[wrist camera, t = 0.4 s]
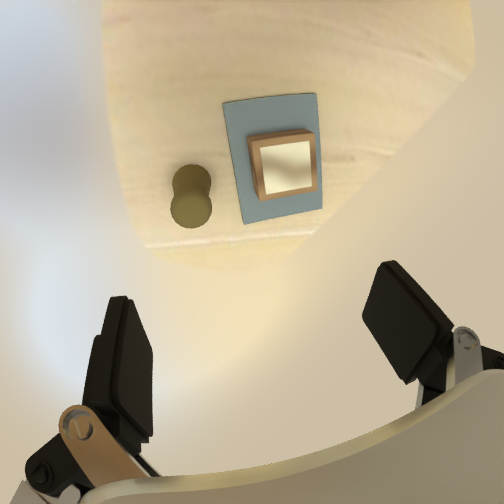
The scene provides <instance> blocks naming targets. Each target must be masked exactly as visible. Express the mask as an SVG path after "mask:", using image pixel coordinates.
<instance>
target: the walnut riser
mask: <svg viewBox="0 0 504 504" xmlns="http://www.w3.org/2000/svg"><path fill="white" fill-rule="evenodd" d="M246 139H247V145H248V152H249V158H250V165H251V172H252V178H253V185H254V192H255V194H256V195H257V197H258V199H259V201H260V202H261V201H266V200H271V199H276V198H281V197H286V196H292V195H297V194H302V193H308V192H314V191H318V187H317V162H316V144H315V133H313V132H311V131H309V130H307V129H296V130H287V131H280V132H272V133H266V134H259V135H253V136H247V137H246Z"/></svg>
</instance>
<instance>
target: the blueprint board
mask: <svg viewBox="0 0 504 504" xmlns="http://www.w3.org/2000/svg"><path fill="white" fill-rule="evenodd" d="M222 105H223V110H224V116H225V122H226V128H227V133H228V139H229V145H230V150H231V156H232V162H233V167H234V173H235V179H236V184H237V190H238V196H239V201H240V207H241V212H242V218H243V223H244V225H245V224H250V223H254V222H259V221H263V220H268V219H273V218H278V217H282V216H287V215H292V214H297V213H302V212H307V211H312V210H317V209H322V171H321V148H320V132H319V118H318V105H317V95H316V93H307V94H292V95H281V96H271V97H262V98H255V99H247V100H241V101H235V102H229V103H223V104H222ZM296 129H307V130H309V131H311V132H313V133H315V144H316V162H317V187H318V191H314V192H308V193H302V194H297V195H292V196H286V197H281V198H276V199H271V200H266V201H261V202H260V201H259V199H258V197H257V195H256V194H255V192H254V185H253V178H252V172H251V165H250V158H249V152H248V145H247V139H246V137H247V136H253V135H259V134H266V133H272V132H280V131H287V130H296Z"/></svg>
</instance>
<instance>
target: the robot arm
mask: <svg viewBox="0 0 504 504" xmlns="http://www.w3.org/2000/svg"><path fill="white" fill-rule="evenodd" d="M362 318H363V321H364V323H365V324H366V326H367V327H368V329H369V330H370V332H371V333H372V335H373V337H374V338H375V340H376V341H377V343H378V344H379V346H380V348H381V349H382V351H383V352H384V354H385V356H386V357H387V359H388V360H389V362H390V364H391V365H392V367H393V368H394V370H395V372H396V373H397V375H398V377H399V378H400V379H401V380H403V381H404V383H405V384H406V385H407V384H409V383H411V382H413V381H415V380H416V378H418V380H419V387H418V394H417V401H416V407H415V410H414V411H413V412H410V413H409V414H407V415H405V416H403V417H401V418H399V419H397V420H395V421H393V422H391V423H389V424H387V425H384V426H382V427H380V428H378V429H376V430H373V431H372V432H369V433H367V434H364V435H362V436H359V437H357V438H354V439H352V440H349V441H347V442H344V443H341V444H338V445H336V446H333V447H330V448H327V449H324V450H321V451H318V452H314V453H311V454H307V455H304V456H300V457H297V458H293V459H289V460H285V461H281V462H277V463H273V464H268V465H262V466H258V467H252V468H246V469H240V470H233V471H225V472H218V473H209V474H198V475H183V476H166V477H163V476H162V475H161V474H160V473H159V472H158V471H157V470H156V469H155V468H154V467H152V465H151V464H150V463H149V462H148V461H147V460H146V459H145V458H144V457H143V456H142V455H141V454H140V452H141V443H149V437H152V435H153V417H152V416H153V414H152V370H153V369H152V368H153V352H152V347H151V345H150V343H149V340H148V338H147V335H146V333H145V330H144V328H143V325H142V323H141V320H140V318H139V315H138V312H137V310H136V307H135V304H134V302H133V300H132V299H130V300H128V298H127V296H116V297H111V298H110V300H109V303H108V307H107V311H106V315H105V319H104V323H103V327H102V331H101V335H96V337H95V338H94V341H93V345H92V350H91V355H90V359H89V365H88V370H87V376H86V381H85V387H84V393H83V400H82V405H73V406H71V407H69V408H67V409H66V410H65V411H64V412H63V413H62V415H61V417H60V420H59V432H60V433H58V434H57V435H56V436H55V437H54V438H52V439H51V440H50V441H49V442H48V443H46V444H45V445H44V446H43V447H42V448H40V449H39V450H38V451H37V452H35V453H34V454H33V455H32V456H31V457H30V458H29V459H28V460H27V462H26V465H25V474H26V478H27V479H26V481H24V480H22V481H21V483H20V485H19V487H18V489H17V491H16V493H15V495H14V497H13V499H12V501H11V503H10V504H504V354H503V353H501V352H499V351H496V350H493V349H490V348H487V347H484V346H481V345H480V340H479V338H478V336H477V335H476V334H475V332H474V331H473V330H471V329H470V328H467V327H462V326H461V327H458V328H456V329H455V331H454V332H452V331H451V330H452V328H453V327H454V324H453V323H452V322H451V321H450V320H449V318H448V317H447V316H446V315H445V314H444V312H443V311H442V310H441V309H440V308H439V307H438V305H437V304H436V303H435V302H434V301H433V300H432V299H431V297H430V296H429V295H428V294H427V293H426V292H425V291H424V290H423V289H422V288H421V286H420V285H418V283H417V282H416V281H415V280H414V279H413V278H412V277H411V276H410V275H409V274H408V273H407V272H406V271H405V270H404V269H403V267H402V266H401V265H400V264H399V263H398V262H397V261H395V260H392V261H386V262H382V263H381V265H380V266H379V267H378V269H377V272H376V275H375V278H374V281H373V284H372V287H371V290H370V293H369V296H368V299H367V302H366V304H365V307H364V310H363V313H362Z"/></svg>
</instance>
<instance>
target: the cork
mask: <svg viewBox="0 0 504 504" xmlns="http://www.w3.org/2000/svg"><path fill="white" fill-rule="evenodd" d="M172 185H173V191H174V197H173V200H172V202H171V209H170V210H171V214H172V217H173V219H174V220H175V222H176V223H177V224H179V225H180V226H182V227H185V228H197V227H200V226H202V225H203V224H205V223H206V222H207V221H208V219H209V217H210V215H211V212H212V204H211V200H210V198H209V191H210V186H211V178H210V175H209V173H208V172H207V171H206V170H205V169H204V168H203V167H201V166H198V165H192V164H191V165H186V166H184V167H182V168H180V169H179V170H178V171H177V172H176V173H175V175H174V177H173V184H172Z"/></svg>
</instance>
